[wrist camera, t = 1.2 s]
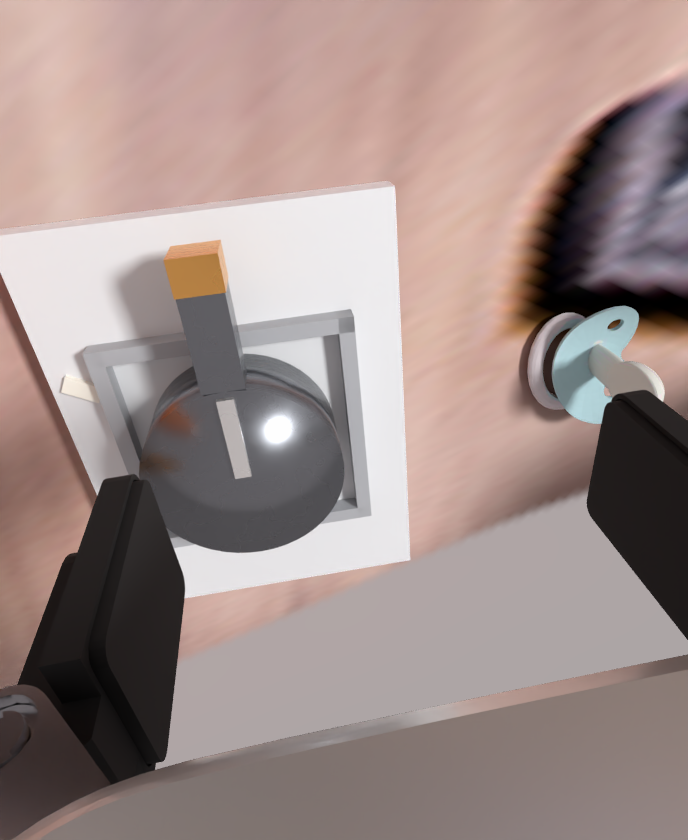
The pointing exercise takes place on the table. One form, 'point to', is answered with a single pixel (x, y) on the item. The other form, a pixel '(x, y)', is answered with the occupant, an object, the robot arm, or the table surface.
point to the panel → (259, 333)
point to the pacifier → (589, 363)
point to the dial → (236, 428)
